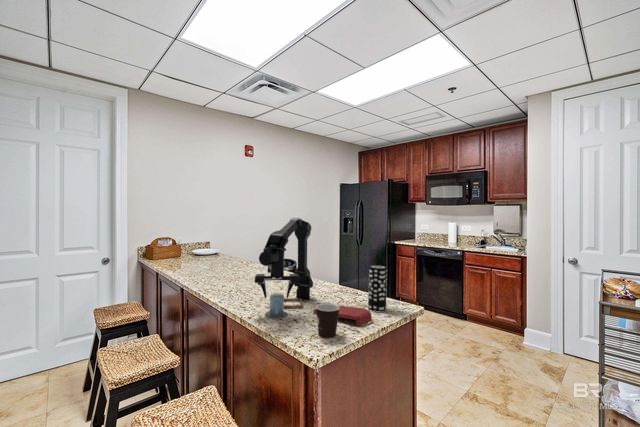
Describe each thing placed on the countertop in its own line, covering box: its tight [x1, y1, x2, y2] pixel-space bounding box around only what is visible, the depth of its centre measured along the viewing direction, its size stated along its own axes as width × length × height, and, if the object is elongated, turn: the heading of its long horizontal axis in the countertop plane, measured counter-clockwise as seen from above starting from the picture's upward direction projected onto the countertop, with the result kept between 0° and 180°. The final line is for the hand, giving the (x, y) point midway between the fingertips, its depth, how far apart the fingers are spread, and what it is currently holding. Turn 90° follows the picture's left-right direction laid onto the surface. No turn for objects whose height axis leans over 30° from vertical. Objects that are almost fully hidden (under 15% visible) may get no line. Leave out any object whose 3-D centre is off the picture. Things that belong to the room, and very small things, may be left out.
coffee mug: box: [315, 303, 339, 339], centre depth 111 cm, size 12×9×10 cm
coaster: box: [264, 310, 289, 320], centre depth 129 cm, size 10×10×1 cm
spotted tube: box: [367, 264, 388, 312], centre depth 140 cm, size 8×8×20 cm
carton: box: [312, 305, 373, 327], centre depth 129 cm, size 12×5×25 cm
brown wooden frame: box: [284, 297, 304, 310], centre depth 144 cm, size 15×12×1 cm
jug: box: [269, 293, 285, 316], centre depth 128 cm, size 8×6×8 cm
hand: (276, 298), depth 129 cm, fingers open, 9 cm apart
